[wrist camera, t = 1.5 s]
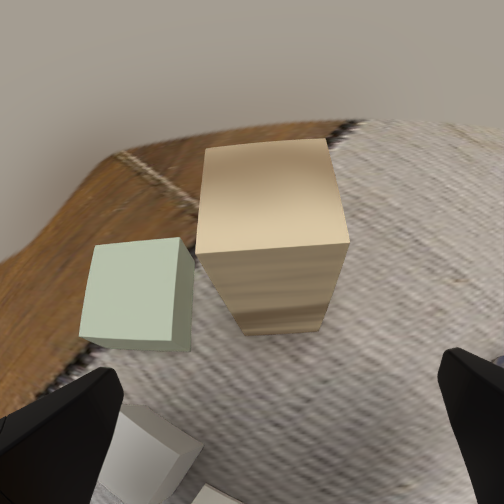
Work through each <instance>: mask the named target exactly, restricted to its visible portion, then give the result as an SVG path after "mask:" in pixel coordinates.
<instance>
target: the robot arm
mask: <svg viewBox="0 0 504 504" xmlns="http://www.w3.org/2000/svg"><path fill="white" fill-rule="evenodd" d="M437 378H438V383H439V387H440V390H441V393H442V396H443V400H444V403H445V406H446V410H447V413H448V417H449V420H450V424H451V427H452V429H453V432H454V435H455V437H456V440H457V442H458V445H459V448H460V450H461V453H462V456H463V459H464V462H465V465H466V467H467V470H468V473H469V476H470V480H471V483H472V486H473V489H474V492H475V496H476V499H477V503H478V504H504V368H502V367H500V366H498V365H496V364H494V363H491V362H489V361H487V360H485V359H483V358H481V357H478V356H476V355H474V354H472V353H470V352H468V351H465V350H463V349H461V348H458V347H456V348H452V349H447V350H446V351H445V352H444V353H443V357H442V360H441V364H440V367H439V371H438V376H437ZM123 397H124V392H123V388H122V386H121V383H120V381H119V378H118V376H117V373H116V371H115V370H114V369H113V368H109V367H99V368H97V369H95V370H93V371H92V372H90V373H88V374H86V375H84V376H82V377H80V378H79V379H77V380H75V381H73V382H71V383H69V384H67V385H65V386H63V387H62V388H60V389H58V390H56V391H54V392H52V393H50V394H48V395H46V396H44V397H42V398H41V399H39V400H37V401H35V402H33V403H31V404H29V405H27V406H25V407H23V408H21V409H19V410H17V411H15V412H13V413H11V414H9V415H8V416H7V417H6V416H5V417H3V418H1V419H0V504H89V503H90V500H91V497H92V495H93V492H94V489H95V486H96V483H97V480H98V477H99V474H100V472H101V469H102V466H103V463H104V461H105V458H106V455H107V452H108V450H109V447H110V444H111V441H112V438H113V435H114V431H115V427H116V424H117V420H118V416H119V412H120V409H121V405H122V401H123Z"/></svg>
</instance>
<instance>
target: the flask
mask: <svg viewBox="0 0 504 504" xmlns="http://www.w3.org/2000/svg"><path fill="white" fill-rule="evenodd" d="M492 363H494V364H496V365H498V366H500V367H502V368H504V356H500V357H497V358H496V359H495V360H494V361H493V362H492Z"/></svg>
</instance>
